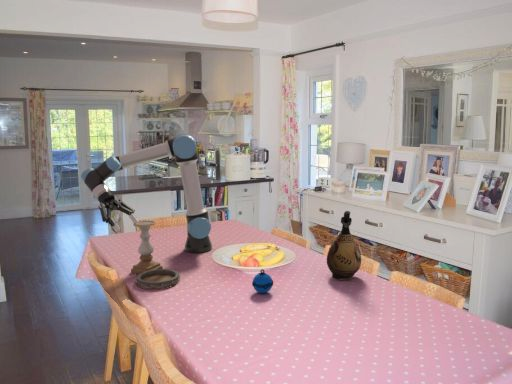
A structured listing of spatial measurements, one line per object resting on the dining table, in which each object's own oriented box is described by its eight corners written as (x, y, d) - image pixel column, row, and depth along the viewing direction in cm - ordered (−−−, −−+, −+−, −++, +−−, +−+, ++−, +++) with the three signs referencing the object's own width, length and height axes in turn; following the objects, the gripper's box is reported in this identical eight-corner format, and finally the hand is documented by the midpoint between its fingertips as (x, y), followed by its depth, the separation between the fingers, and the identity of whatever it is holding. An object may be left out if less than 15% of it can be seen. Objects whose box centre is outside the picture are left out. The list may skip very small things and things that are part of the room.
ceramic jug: (361, 283, 204) (362, 216, 199) (325, 281, 207) (326, 215, 202) (360, 271, 220) (361, 208, 216) (327, 269, 223) (328, 207, 219)
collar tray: (182, 274, 220) (181, 268, 219) (177, 288, 201) (176, 282, 201) (141, 275, 219) (140, 269, 219) (132, 290, 200) (132, 283, 200)
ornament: (255, 297, 190) (255, 273, 189) (250, 290, 198) (249, 267, 197) (275, 295, 192) (275, 271, 191) (269, 288, 201) (269, 265, 199)
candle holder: (130, 272, 223) (127, 224, 220) (145, 266, 233) (143, 219, 229) (148, 276, 218) (145, 226, 215) (163, 269, 228) (160, 221, 224)
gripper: (118, 196, 244) (142, 227, 239) (80, 204, 222) (105, 238, 217) (125, 186, 240) (149, 217, 236) (87, 193, 219) (113, 228, 214)
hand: (128, 227), depth 227 cm, fingers open, 13 cm apart
